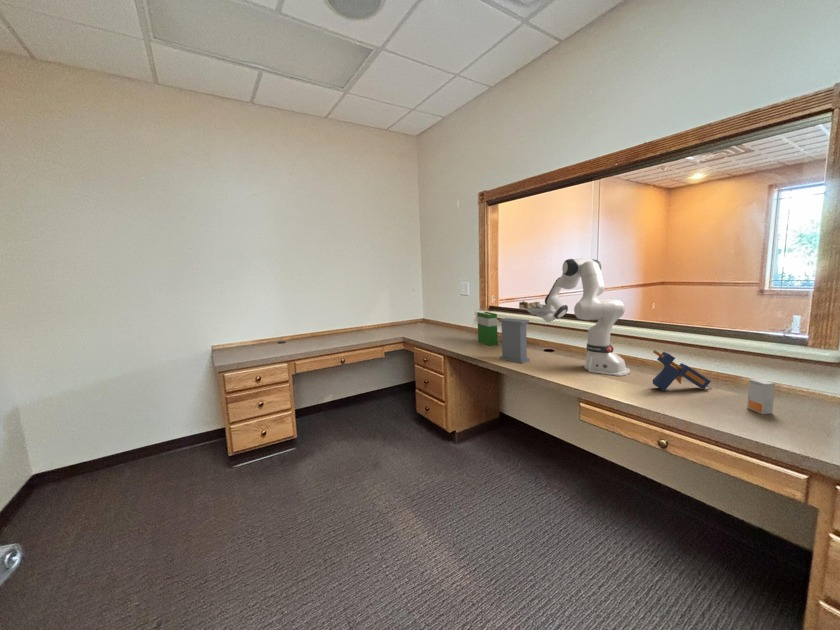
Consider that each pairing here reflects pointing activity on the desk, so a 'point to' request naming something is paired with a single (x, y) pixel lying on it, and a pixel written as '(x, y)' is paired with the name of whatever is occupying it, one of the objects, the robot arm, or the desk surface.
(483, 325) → the green white box
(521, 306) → the marking gauge
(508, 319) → the stand
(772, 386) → the skincare box
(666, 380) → the glue gun
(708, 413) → the desk surface
